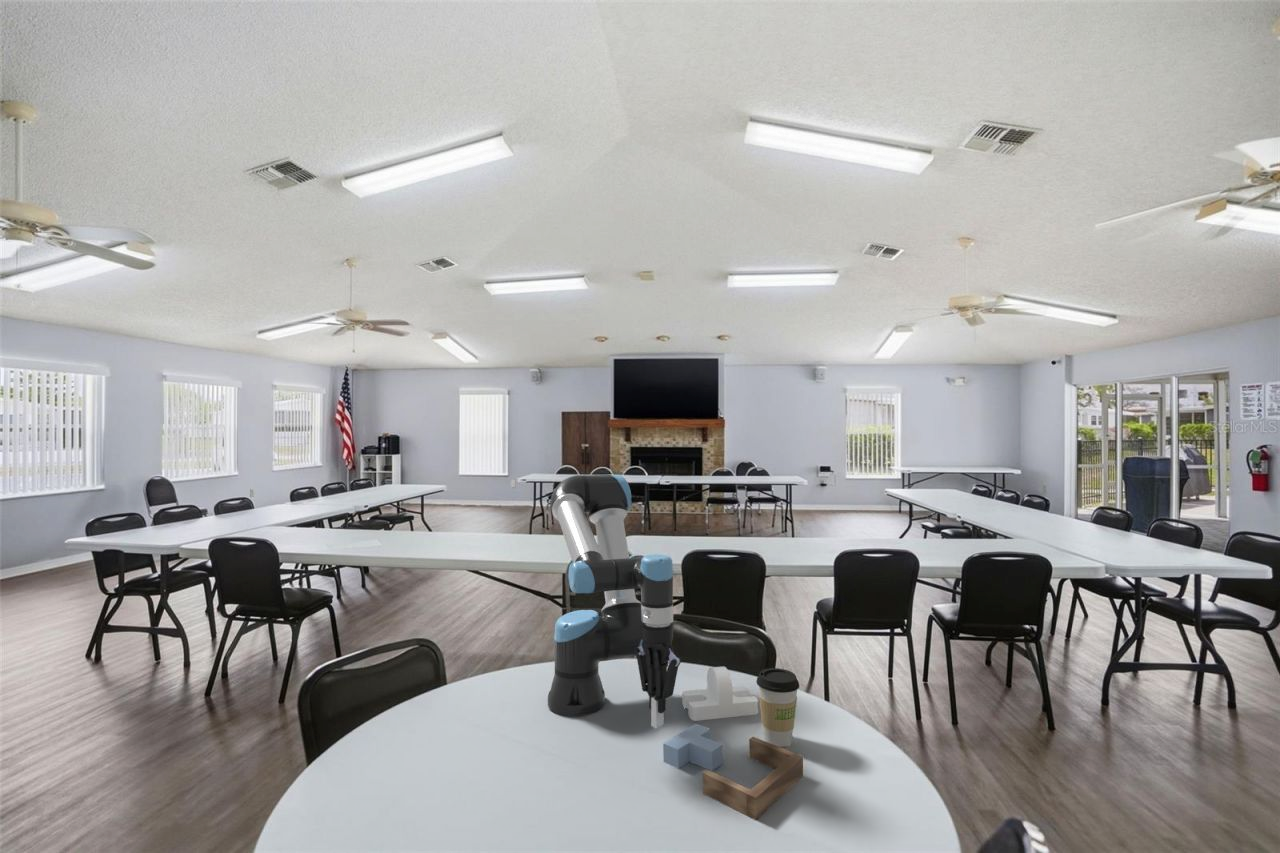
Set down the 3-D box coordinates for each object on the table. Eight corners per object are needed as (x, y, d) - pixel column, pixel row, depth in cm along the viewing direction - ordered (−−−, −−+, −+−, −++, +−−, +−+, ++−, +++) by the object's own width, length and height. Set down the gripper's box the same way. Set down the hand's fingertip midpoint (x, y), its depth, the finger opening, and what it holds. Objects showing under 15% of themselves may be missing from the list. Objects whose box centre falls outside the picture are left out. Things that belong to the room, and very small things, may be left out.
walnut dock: (702, 793, 115) (702, 772, 115) (752, 754, 129) (752, 736, 129) (755, 820, 107) (755, 797, 107) (803, 775, 121) (803, 756, 121)
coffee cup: (801, 753, 129) (800, 685, 130) (756, 748, 131) (756, 682, 132) (798, 731, 139) (798, 668, 139) (756, 727, 141) (756, 665, 141)
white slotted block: (681, 704, 154) (681, 663, 154) (744, 698, 157) (744, 658, 158) (692, 722, 144) (692, 678, 145) (759, 715, 148) (759, 672, 148)
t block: (663, 762, 126) (663, 743, 126) (696, 740, 135) (696, 723, 135) (700, 779, 119) (700, 759, 119) (732, 755, 128) (732, 737, 128)
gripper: (625, 620, 137) (626, 722, 136) (668, 632, 129) (669, 740, 128) (646, 614, 143) (647, 711, 142) (688, 624, 134) (689, 728, 133)
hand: (657, 725), depth 135 cm, fingers closed
